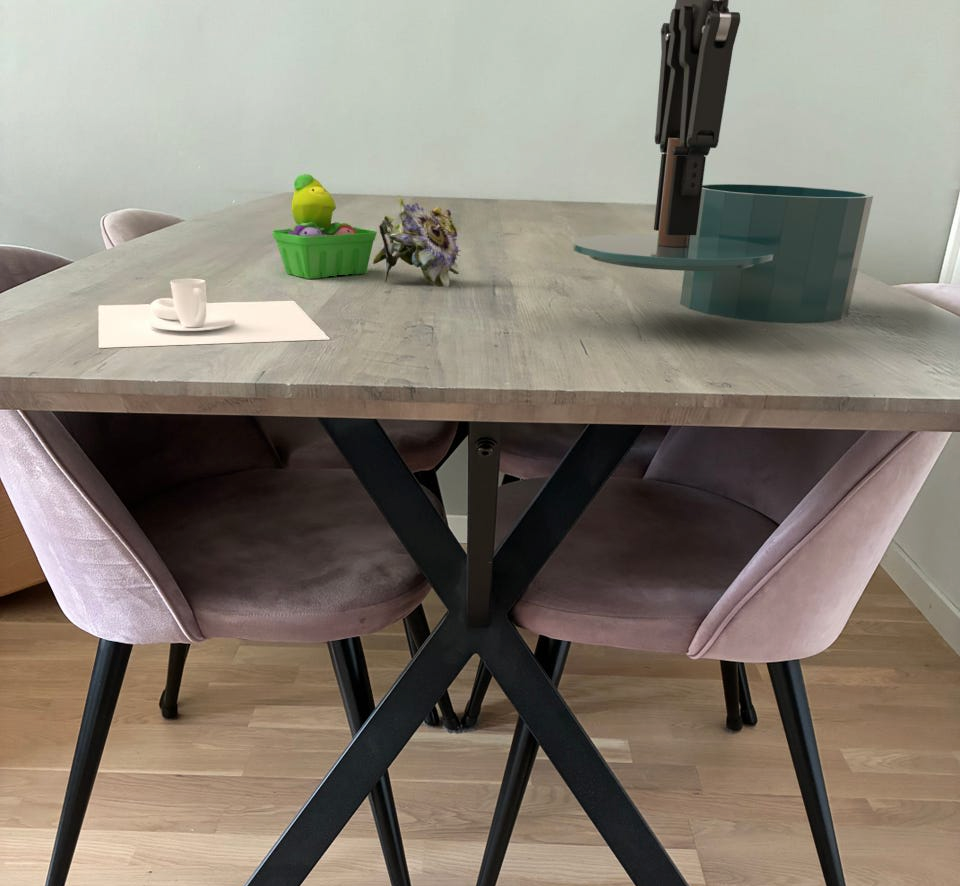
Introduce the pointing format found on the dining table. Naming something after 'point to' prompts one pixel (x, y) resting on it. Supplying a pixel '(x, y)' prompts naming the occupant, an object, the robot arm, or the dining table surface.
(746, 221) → the pot
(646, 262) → the lid
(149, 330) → the teacup and saucer
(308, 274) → the fruit basket
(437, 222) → the passion flower
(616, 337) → the dining table surface
